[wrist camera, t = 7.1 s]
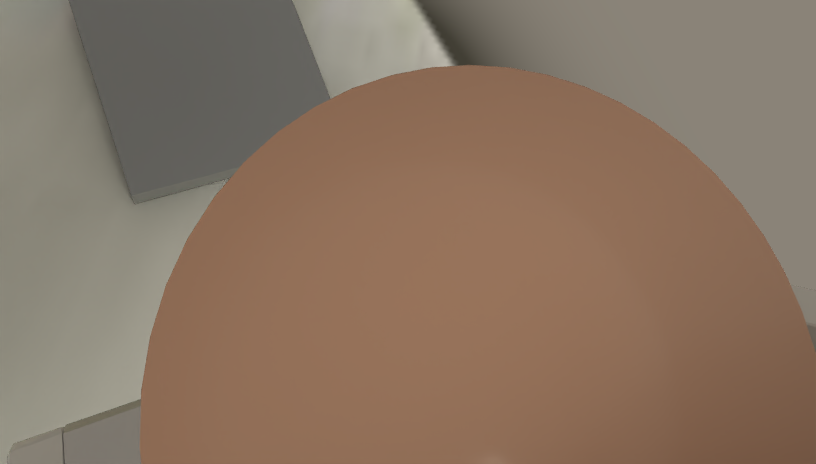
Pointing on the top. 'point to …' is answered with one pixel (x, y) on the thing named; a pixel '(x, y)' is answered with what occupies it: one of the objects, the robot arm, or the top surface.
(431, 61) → the top surface
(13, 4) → the top surface
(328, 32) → the top surface
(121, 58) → the coaster
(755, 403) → the tan round cylinder
